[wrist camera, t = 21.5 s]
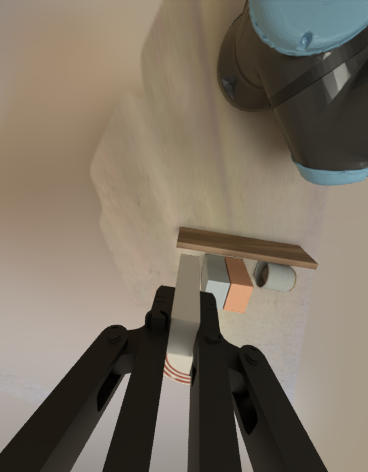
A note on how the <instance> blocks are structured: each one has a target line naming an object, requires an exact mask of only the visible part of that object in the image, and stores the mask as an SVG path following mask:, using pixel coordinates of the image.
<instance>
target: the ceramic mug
mask: <svg viewBox="0 0 368 472" xmlns="http://www.w3.org/2000/svg"><path fill="white" fill-rule="evenodd" d="M255 282H256V285H257V286H258V287H259V288H261V289H267V290H273V291H279V292H289V291H291V290H292V289H293V288H294V286H295V284H296V273H295V271H294V270H293V268H291V267H290V265H284V264H278V263H272V262H266V261H260V262H259V263H258V265H257V267H256V270H255Z"/></svg>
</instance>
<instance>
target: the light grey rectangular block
mask: <svg viewBox="0 0 368 472" xmlns="http://www.w3.org/2000/svg"><path fill="white" fill-rule="evenodd" d="M229 286H230V281H229V277H228V273H227V269H226V264H225V260H224V257H223V256H217V255H211V254H206V256H205V261H204V265H203V270H202V274H201V291H203V292H210V293H213V295H214V296H215V298H216V303H217V309H219V310H222V309H223V305H224V302H225V299H226V295H227V292H228V289H229Z"/></svg>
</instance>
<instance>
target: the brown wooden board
mask: <svg viewBox="0 0 368 472" xmlns="http://www.w3.org/2000/svg"><path fill="white" fill-rule="evenodd" d="M176 247H178V248H184V249H190V250H197V251H203V252H209V253H215V254H222V255H228V256H234V257H241V258H247V259H253V260H260V261H266V262H272V263H278V264H285V265H291V266H297V267H304V268H310V269H316V268H317V266H318V263H316V262H315V261H314V260H313V259H312V258H311V257H310V256H309V255H308V254H307V253H306V252H305V251H304V250H303V249H302V248H301V247H300V246H297V245H290V244H284V243H278V242H271V241H265V240H259V239H253V238H246V237H240V236H234V235H227V234H221V233H215V232H208V231H202V230H196V229H190V228H183V227H180V231H179V236H178V240H177V246H176Z"/></svg>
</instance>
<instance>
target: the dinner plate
mask: <svg viewBox="0 0 368 472" xmlns="http://www.w3.org/2000/svg"><path fill="white" fill-rule="evenodd" d="M192 361H193V354H192V357H188V356H182V355H175V354H169V353H166V359H165V366H164V373H163V374H164V375H165V376H166V377H168V378H169V379H171V380H173V381H176V382H178V383H182V384H186V385H190V380H191V377H190V376H189V373H190V369H191V365H192Z"/></svg>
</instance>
